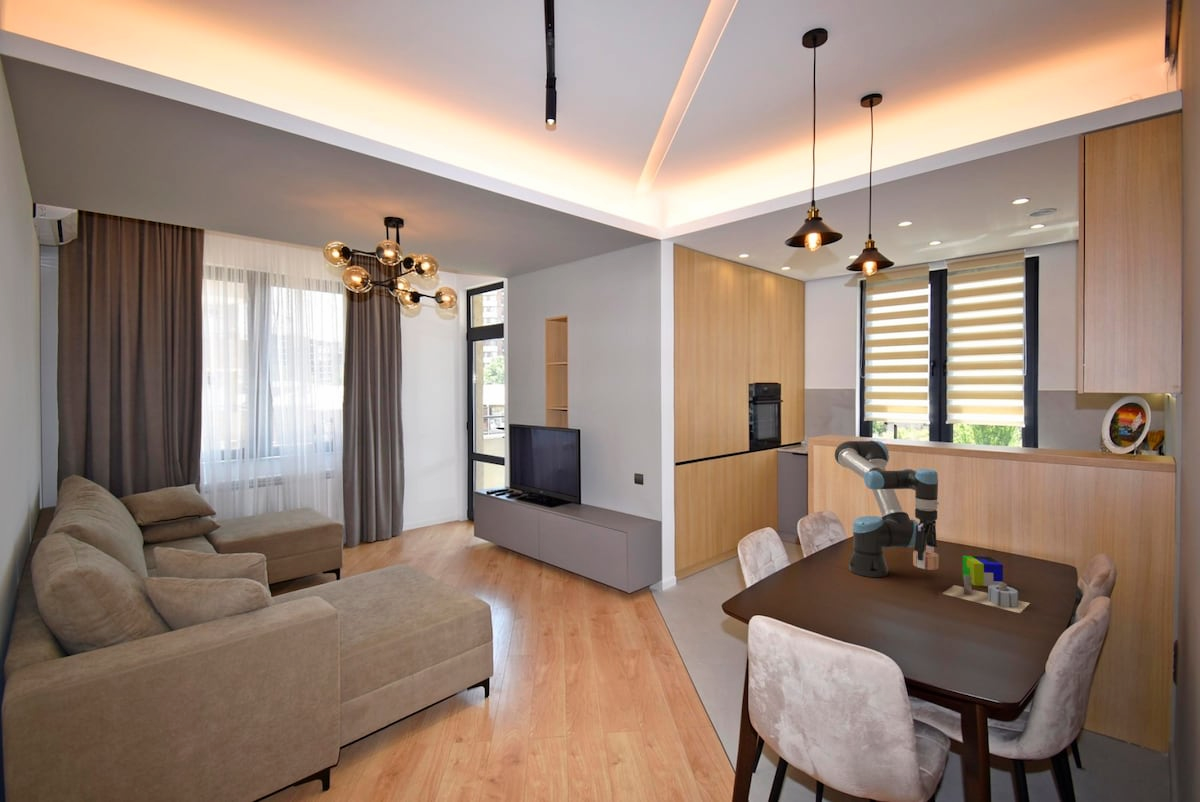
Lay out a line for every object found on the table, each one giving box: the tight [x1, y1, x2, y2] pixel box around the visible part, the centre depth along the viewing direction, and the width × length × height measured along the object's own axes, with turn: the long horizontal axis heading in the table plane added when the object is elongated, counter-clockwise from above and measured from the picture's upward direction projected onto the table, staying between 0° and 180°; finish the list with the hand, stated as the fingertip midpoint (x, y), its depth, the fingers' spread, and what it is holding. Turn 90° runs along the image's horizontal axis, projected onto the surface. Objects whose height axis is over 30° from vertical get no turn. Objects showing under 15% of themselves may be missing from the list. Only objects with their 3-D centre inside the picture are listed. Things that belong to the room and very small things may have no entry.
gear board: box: [941, 575, 1031, 614], centre depth 200 cm, size 24×13×8 cm, turn 39°
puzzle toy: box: [962, 555, 1004, 587], centre depth 216 cm, size 10×10×10 cm
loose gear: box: [912, 549, 940, 571], centre depth 214 cm, size 8×8×5 cm
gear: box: [987, 585, 1019, 607], centre depth 196 cm, size 8×8×5 cm
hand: (925, 565), depth 214 cm, fingers closed on loose gear, 8 cm apart
